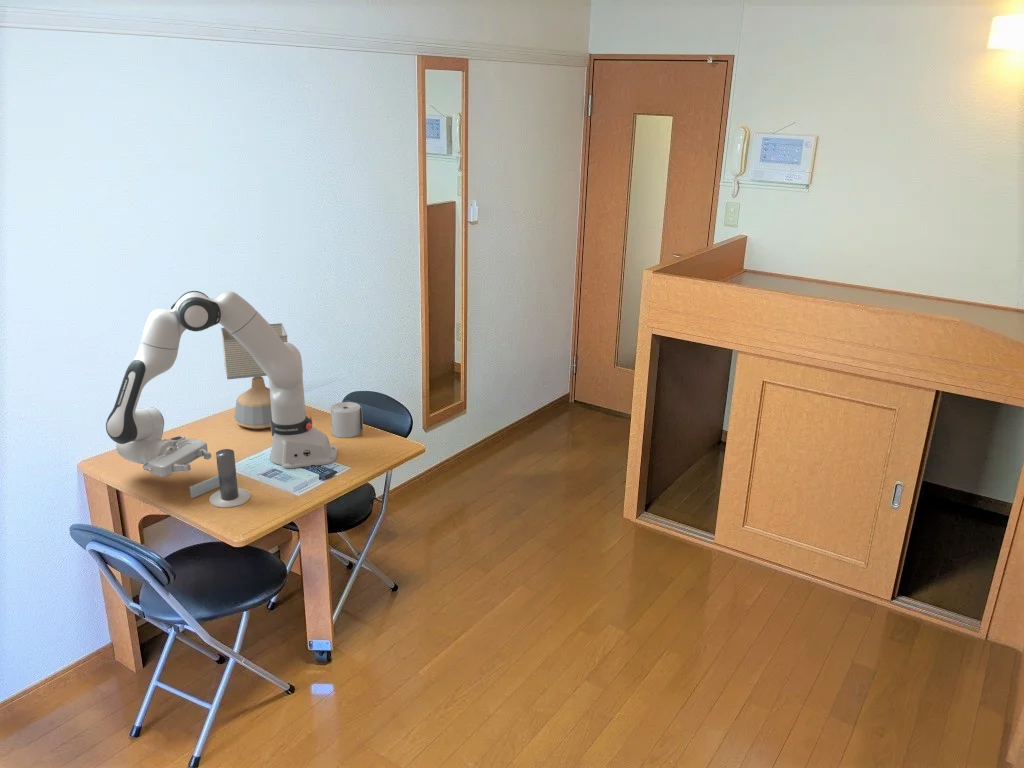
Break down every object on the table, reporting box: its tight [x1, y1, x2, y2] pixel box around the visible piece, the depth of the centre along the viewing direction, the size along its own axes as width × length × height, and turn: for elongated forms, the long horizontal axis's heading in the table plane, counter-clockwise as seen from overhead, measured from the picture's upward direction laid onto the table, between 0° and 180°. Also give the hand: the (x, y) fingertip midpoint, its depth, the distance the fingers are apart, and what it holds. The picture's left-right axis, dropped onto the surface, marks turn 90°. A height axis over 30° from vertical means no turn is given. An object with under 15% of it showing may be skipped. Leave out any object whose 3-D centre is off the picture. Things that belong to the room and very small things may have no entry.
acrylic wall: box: [189, 475, 220, 499], centre depth 263 cm, size 14×1×4 cm, turn 144°
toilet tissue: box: [330, 401, 364, 439], centre depth 306 cm, size 11×12×10 cm
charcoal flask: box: [215, 448, 239, 501], centre depth 256 cm, size 5×5×15 cm
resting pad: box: [208, 487, 251, 509], centre depth 258 cm, size 12×12×1 cm
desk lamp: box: [220, 322, 288, 430], centre depth 308 cm, size 22×19×37 cm
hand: (199, 462), depth 258 cm, fingers open, 8 cm apart
